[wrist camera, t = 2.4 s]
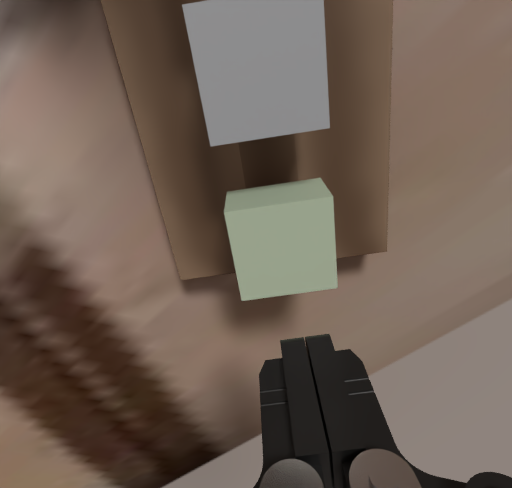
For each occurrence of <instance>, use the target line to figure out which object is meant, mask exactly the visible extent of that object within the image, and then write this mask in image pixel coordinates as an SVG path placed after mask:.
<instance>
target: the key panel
mask: <svg viewBox="0 0 512 488" xmlns="http://www.w3.org/2000/svg"><path fill="white" fill-rule="evenodd" d="M200 1H206V0H101V4H102V7H103V11H104V14H105V18H106V21H107V25H108V28H109V32H110V35H111V39H112V42H113V46H114V49H115V53H116V56H117V60H118V63H119V66H120V70H121V73H122V77H123V80H124V84H125V87H126V91H127V94H128V98H129V101H130V105H131V108H132V112H133V115H134V119H135V122H136V126H137V129H138V133H139V136H140V140H141V143H142V147H143V150H144V154H145V157H146V161H147V164H148V167H149V171H150V174H151V178H152V181H153V185H154V188H155V192H156V195H157V199H158V202H159V206H160V209H161V213H162V216H163V220H164V223H165V227H166V230H167V234H168V237H169V241H170V244H171V248H172V251H173V255H174V258H175V262H176V265H177V268H178V272H179V275H180V279H181V280H186V279H193V278H201V277H208V276H215V275H222V274H229V273H236V270H235V265H234V260H233V255H232V250H231V245H230V240H229V235H228V230H227V225H226V220H225V215H224V208H225V201H226V195H227V192H228V191H234V190H241V189H248V188H254V187H261V186H268V185H275V184H281V183H288V182H295V181H301V180H308V179H315V178H321V179H322V181H323V182H324V184H325V185H326V187H327V188H328V189H329V191H330V192H331V194H332V195H333V203H334V223H335V244H336V258H343V257H351V256H358V255H365V254H372V253H379V252H386V251H387V228H388V187H389V147H390V106H391V66H392V25H393V0H324V17H325V37H326V58H327V78H328V98H329V118H330V128H327V129H321V130H314V131H308V132H301V133H295V134H289V135H282V136H276V137H269V138H263V139H256V140H250V141H243V142H237V143H231V144H224V145H218V146H210V141H209V136H208V131H207V127H206V122H205V117H204V112H203V107H202V102H201V97H200V92H199V87H198V82H197V77H196V72H195V67H194V62H193V57H192V52H191V47H190V42H189V37H188V32H187V27H186V22H185V17H184V12H183V7H182V5H183V4H189V3H194V2H200Z"/></svg>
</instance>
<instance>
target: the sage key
mask: <svg viewBox="0 0 512 488" xmlns="http://www.w3.org/2000/svg"><path fill="white" fill-rule="evenodd" d="M224 215H225V220H226V225H227V230H228V235H229V240H230V245H231V250H232V255H233V260H234V265H235V270H236V275H237V280H238V285H239V290H240V295H241V300H242V301H246V300H253V299H261V298H268V297H275V296H283V295H290V294H297V293H304V292H312V291H319V290H326V289H334V288H338V284H337V264H336V244H335V223H334V203H333V195H332V194H331V192H330V191H329V189H328V188H327V187H326V185H325V184H324V182H323V181H322V179H321V178H315V179H308V180H301V181H295V182H288V183H281V184H275V185H268V186H261V187H254V188H248V189H241V190H234V191H228V192H227V195H226V201H225V208H224Z"/></svg>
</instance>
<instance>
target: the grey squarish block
mask: <svg viewBox="0 0 512 488" xmlns="http://www.w3.org/2000/svg"><path fill="white" fill-rule="evenodd" d="M182 7H183V12H184V17H185V22H186V27H187V32H188V37H189V42H190V47H191V52H192V57H193V62H194V67H195V72H196V77H197V82H198V87H199V92H200V97H201V102H202V107H203V112H204V117H205V122H206V127H207V131H208V136H209V141H210V146H218V145H224V144H231V143H237V142H243V141H250V140H256V139H263V138H269V137H276V136H282V135H289V134H295V133H301V132H308V131H314V130H321V129H327V128H330V118H329V98H328V78H327V58H326V37H325V17H324V0H206V1H200V2H194V3H189V4H183V5H182Z"/></svg>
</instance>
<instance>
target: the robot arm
mask: <svg viewBox="0 0 512 488" xmlns="http://www.w3.org/2000/svg"><path fill="white" fill-rule="evenodd" d="M280 342H281V350H282V358H279V359H272V360H265V362H264V365H263V367H262V369H261V372H260V374H259V381H260V402H261V423H262V443H263V468H262V472H261V475H260V478H259V480H258V482H257V483H256V485H255V486H254V487H253V488H512V478H511V477H509V476H506V475H503V474H500V473H495V472H483V473H479V474H476V475H474V476H473V477H472V478H470V480H469V481H468V482H467V483H463V482H459V481H454V480H450V479H446V478H441V477H436V476H433V475H430V474H427V473H425V472H423V471H421V470H419V469H417V468H416V467H415V466H413V465H412V464H410V463H409V462H408V461H407V460H406V459H405V458H404V457H403V455H402V454H401V453H400V451H399V450H398V449H397V446H396V444H395V442H394V440H393V437H392V435H391V432H390V430H389V427H388V425H387V422H386V420H385V417H384V415H383V412H382V410H381V407H380V405H379V402H378V400H377V397H376V395H375V393H374V390H373V387H372V385H371V382H370V380H369V378H368V375H367V372H366V370H365V367H364V365H363V362H362V361H361V360H360V359H359V358H358V357H357V356H356V355H355V354H354V353H353V352H352V351H351V350H350V349H348V350H340V351H335V350H334V346H333V343H332V340H331V337H330V335H329V334H324V335H316V336H308V337H305V341H304V338H303V337H302V338H294V339H287V340H280ZM305 342H306V345H305Z"/></svg>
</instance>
